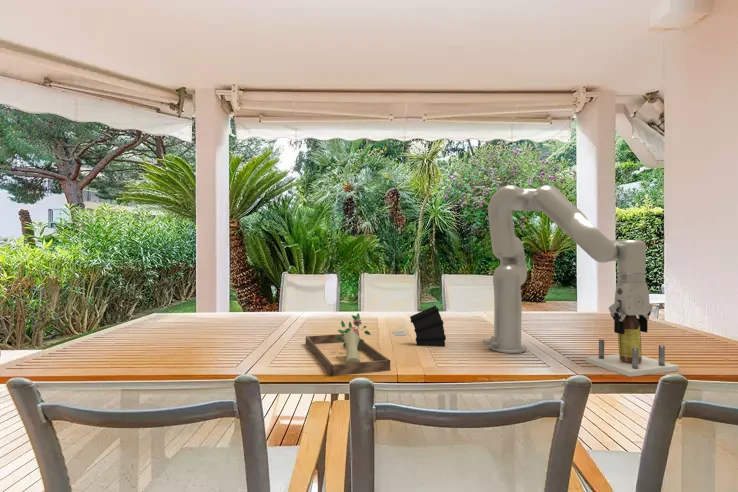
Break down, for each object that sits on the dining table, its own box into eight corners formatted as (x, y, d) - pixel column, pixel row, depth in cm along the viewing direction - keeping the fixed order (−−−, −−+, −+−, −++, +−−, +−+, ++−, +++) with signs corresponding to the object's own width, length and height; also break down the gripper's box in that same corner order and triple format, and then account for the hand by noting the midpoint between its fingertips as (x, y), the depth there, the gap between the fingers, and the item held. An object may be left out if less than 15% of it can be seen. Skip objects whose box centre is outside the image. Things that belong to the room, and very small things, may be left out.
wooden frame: (330, 376, 122) (330, 365, 122) (305, 344, 160) (305, 336, 160) (390, 370, 128) (390, 360, 128) (352, 340, 166) (352, 333, 166)
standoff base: (630, 376, 123) (630, 351, 123) (585, 362, 138) (585, 339, 138) (678, 370, 129) (678, 346, 129) (631, 357, 144) (631, 335, 144)
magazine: (453, 342, 157) (436, 306, 158) (421, 356, 159) (405, 320, 160) (453, 340, 161) (436, 304, 162) (421, 353, 163) (405, 318, 163)
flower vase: (342, 395, 127) (340, 343, 161) (380, 383, 127) (371, 334, 161) (330, 361, 124) (331, 315, 158) (369, 349, 124) (362, 306, 158)
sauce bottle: (646, 363, 131) (645, 299, 131) (628, 364, 130) (626, 300, 131) (631, 358, 137) (630, 297, 138) (613, 359, 137) (612, 297, 137)
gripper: (621, 280, 127) (620, 336, 127) (662, 279, 133) (662, 333, 133) (600, 278, 134) (600, 331, 134) (640, 277, 140) (639, 328, 140)
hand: (630, 332), depth 133 cm, fingers open, 9 cm apart
